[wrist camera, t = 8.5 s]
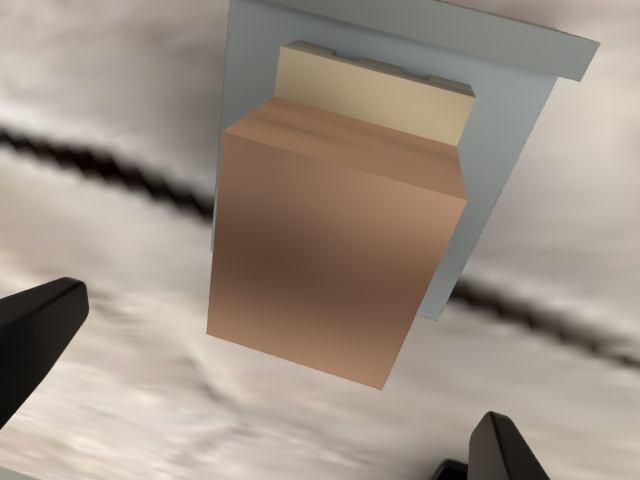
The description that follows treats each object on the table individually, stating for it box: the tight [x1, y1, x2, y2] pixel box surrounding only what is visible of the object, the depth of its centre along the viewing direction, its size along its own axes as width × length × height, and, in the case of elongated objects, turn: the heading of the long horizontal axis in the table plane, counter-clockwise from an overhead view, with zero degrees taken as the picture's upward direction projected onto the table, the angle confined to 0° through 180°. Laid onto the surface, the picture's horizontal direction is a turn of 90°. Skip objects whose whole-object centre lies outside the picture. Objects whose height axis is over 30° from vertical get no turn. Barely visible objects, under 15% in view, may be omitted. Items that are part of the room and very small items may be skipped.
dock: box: [211, 0, 600, 321], centre depth 16 cm, size 12×11×4 cm
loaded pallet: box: [206, 40, 476, 390], centre depth 14 cm, size 10×6×6 cm, turn 168°
